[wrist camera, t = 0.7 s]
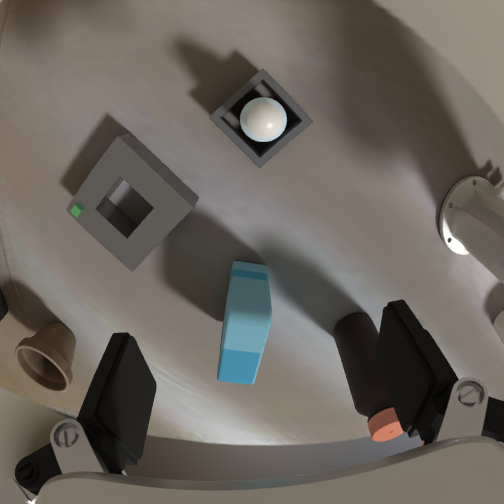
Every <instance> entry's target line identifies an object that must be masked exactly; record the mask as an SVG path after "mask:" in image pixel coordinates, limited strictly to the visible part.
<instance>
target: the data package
mask: <svg viewBox="0 0 504 504" xmlns="http://www.w3.org/2000/svg"><path fill="white" fill-rule="evenodd" d="M271 318H272V307H271V297H270V287H269V277H268V268H267V266H266V265H261V264H254V263H247V262H241V261H233V264H232V269H231V275H230V282H229V288H228V294H227V300H226V307H225V313H224V320H223V327H222V336H221V345H220V355H219V364H218V374H217V379H218V380H219V381H225V382H233V383H242V384H253V383H254V381H255V378H256V375H257V371H258V368H259V364H260V361H261V358H262V354H263V351H264V347H265V343H266V340H267V336H268V333H269V329H270V325H271Z"/></svg>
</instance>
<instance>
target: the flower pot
mask: <svg viewBox="0 0 504 504" xmlns="http://www.w3.org/2000/svg"><path fill="white" fill-rule="evenodd" d="M75 345H76V340H75V337H74V335H73V333H72V332H71V331H70V330H69V329H68V328H67V327H66V326H64V325H63V324H61V323H58V322H51V323H49V324H48V325H46V326H45V327H44V328H42V329H41V330H40V331H39V332H37V333H36V334H35V335H34V336H32V337H31V338H24V339H23V340H22V341H21V342H20V343H19V345H18V346H17V347H16V349H15V358H16V361H17V363H18V365H19V367H20V368H21V369H22V371H23V372H24V373H25V374H26V375H27V376H28V377H29V378H30V379H31V380H32V381H34V382H35V383H36V384H38V385H39V386H41V387H43V388H45V389H47V390H50V391H53V392H65V391H67V390H68V389H69V386H70V384H71V381H72V378H73V374H72V370H71V365H72V361H73V356H74V351H75Z"/></svg>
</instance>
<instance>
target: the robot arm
mask: <svg viewBox="0 0 504 504" xmlns="http://www.w3.org/2000/svg"><path fill="white" fill-rule="evenodd" d="M503 194H504V182H503V183H502V185H501V186H500V187H499V188H496V189H495V188H494V186H493V185H492V184H491V183H490V182H489V181H488V180H486V179H484V178H482V177H479V176H468V177H466V178H463V179H462V180H460V181H459V182H457V183H456V184H455V185H454V186H453V187H452V189H451V190H450V191H449V193H448V195H447V196H446V198H445V200H444V203H443V206H442V209H441V213H440V220H439V227H440V234H441V237H442V240H443V242H444V243H445V245H446V246H447V247H448V248H449V249H450V250H451V251H453V252H454V253H456V254H460V255H467V254H471V255H472V256H473V257H475V258H476V259H477V260H478V261H479V262H480V263H481V264H483V265H484V266H485V267H486V268H487V269H488V270H489V271H490V272H491V273H492V274H494V275H495V276H496V277H497V278H498V279H499V280H500V281H501V282H502V283H503V284H504V197H503ZM375 364H376V367H377V369H378V371H379V374H380V376H381V378H382V381H383V383H384V386H385V388H386V390H387V393H388V395H389V398H390V400H391V403H392V405H393V408H394V410H395V413H396V415H397V418H398V420H399V423H400V425H401V428H402V430H403V431H404V432H407V433H408V435H409V437H410V438H411V437H414V436H417V435H420V438H421V440H423V442H422V444H421V446H420V447H417V448H414V449H411V450H408V451H405V452H402V453H398V454H395V455H392V456H388V457H384V458H381V459H377V460H374V461H370V462H366V463H362V464H357V465H353V466H349V467H344V468H339V469H335V470H329V471H324V472H318V473H312V474H306V475H298V476H291V477H282V478H272V479H262V480H261V479H260V480H244V481H181V480H165V479H155V478H143V477H135V476H127V475H126V473H125V471H124V468H125V464H127V465H134V466H137V461H138V459H141V457H142V454H143V448H144V444H145V439H146V434H147V429H148V424H149V420H150V415H151V411H152V406H153V402H154V397H155V393H156V381H155V379H154V377H153V375H152V373H151V371H150V369H149V367H148V365H147V363H146V361H145V359H144V357H143V355H142V353H141V351H140V349H139V347H138V344H137V342H136V340H135V338H134V337H133V336H130V334H129V333H127V332H125V333H114V334H113V335H112V337H111V339H110V341H109V343H108V345H107V348H106V350H105V352H104V354H103V357H102V359H101V361H100V363H99V366H98V368H97V370H96V372H95V375H94V377H93V380H92V382H91V384H90V387H89V389H88V392H87V394H86V397H85V399H84V402H83V404H82V407H81V409H80V412H79V415H78V417H77V420H73V419H65V420H63V421H60V422H59V423H57V424H56V425H55V427H54V428H53V430H52V432H51V436H50V439H51V443H49V444H47V445H46V446H44V447H42V448H40V449H39V450H37V451H35V452H33V453H32V454H30V455H28V456H26V457H25V458H23V459H22V460H20V461H19V463H18V464H17V466H16V468H15V478H12V477H11V478H10V479H9V480H8V481H7V482H6V483H5V484H4V485H3V486H2V487H1V488H0V504H504V401H501V400H498V399H495V398H492V397H489V396H488V390H487V387H486V386H485V385H484V383H483V382H481V381H480V380H479V379H476V378H473V377H465V378H462V379H460V380H459V379H458V377H457V376H456V374H455V372H454V371H453V369H452V367H451V366H450V364H449V363H448V361H447V359H446V358H445V356H444V355H443V353H442V352H441V350H440V348H439V347H438V345H437V344H436V342H435V341H434V339H433V338H432V336H431V335H430V333H429V332H428V331H427V330H425V329H424V328H423V327H422V325H421V324H420V322H419V321H418V319H417V318H416V317H415V315H414V314H413V312H412V311H411V309H410V308H409V306H408V305H407V304H406V302H405V301H404V300H397V301H392V302H389V303H388V304H387V306H386V307H384V309H383V314H382V320H381V326H380V332H379V337H378V343H377V348H376V353H375Z"/></svg>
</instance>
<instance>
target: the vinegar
mask: <svg viewBox="0 0 504 504" xmlns="http://www.w3.org/2000/svg"><path fill="white" fill-rule="evenodd" d="M378 337H379V333H378V331H377V329H376V327H375V325H374V323H373V321H372V319H371V318H370V317H369V316H368V315H366V314H363V313H355V314H351V315H348V316H346V317H344V318H343V319H342V320H340V321H339V322H338V324H337V325H336V327H335V329H334V339H335V342H336V345H337V348H338V351H339V355H340V358H341V361H342V364H343V368H344V371H345V374H346V378H347V381H348V385H349V388H350V391H351V395H352V398H353V402H354V405H355V409H356V410H357V412H358V413H359V414H362V415H364V416H367V417H368V421H367V422H368V427H369V431H370V434H371V438H372V439H373V440H374V441H386V440H389V439H392V438H394V437H397V436H398V435H400V434H401V433H403V432H404V431H403V430H402V428H401V425H400V423H399V420H398V418H397V415H396V413H395V410H394V408H393V405H392V403H391V400H390V398H389V395H388V393H387V390H386V388H385V386H384V383H383V381H382V378H381V376H380V374H379V371H378V369H377V367H376V364H375V353H376V348H377V343H378Z"/></svg>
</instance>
